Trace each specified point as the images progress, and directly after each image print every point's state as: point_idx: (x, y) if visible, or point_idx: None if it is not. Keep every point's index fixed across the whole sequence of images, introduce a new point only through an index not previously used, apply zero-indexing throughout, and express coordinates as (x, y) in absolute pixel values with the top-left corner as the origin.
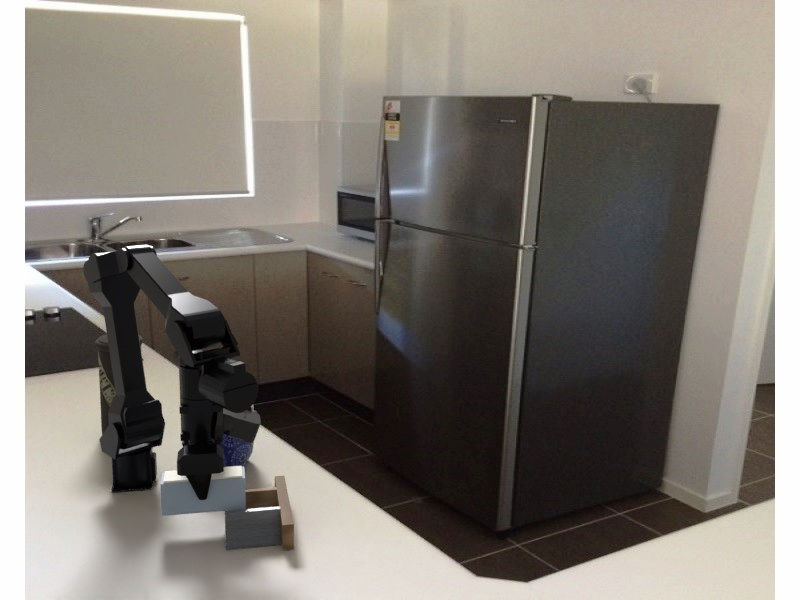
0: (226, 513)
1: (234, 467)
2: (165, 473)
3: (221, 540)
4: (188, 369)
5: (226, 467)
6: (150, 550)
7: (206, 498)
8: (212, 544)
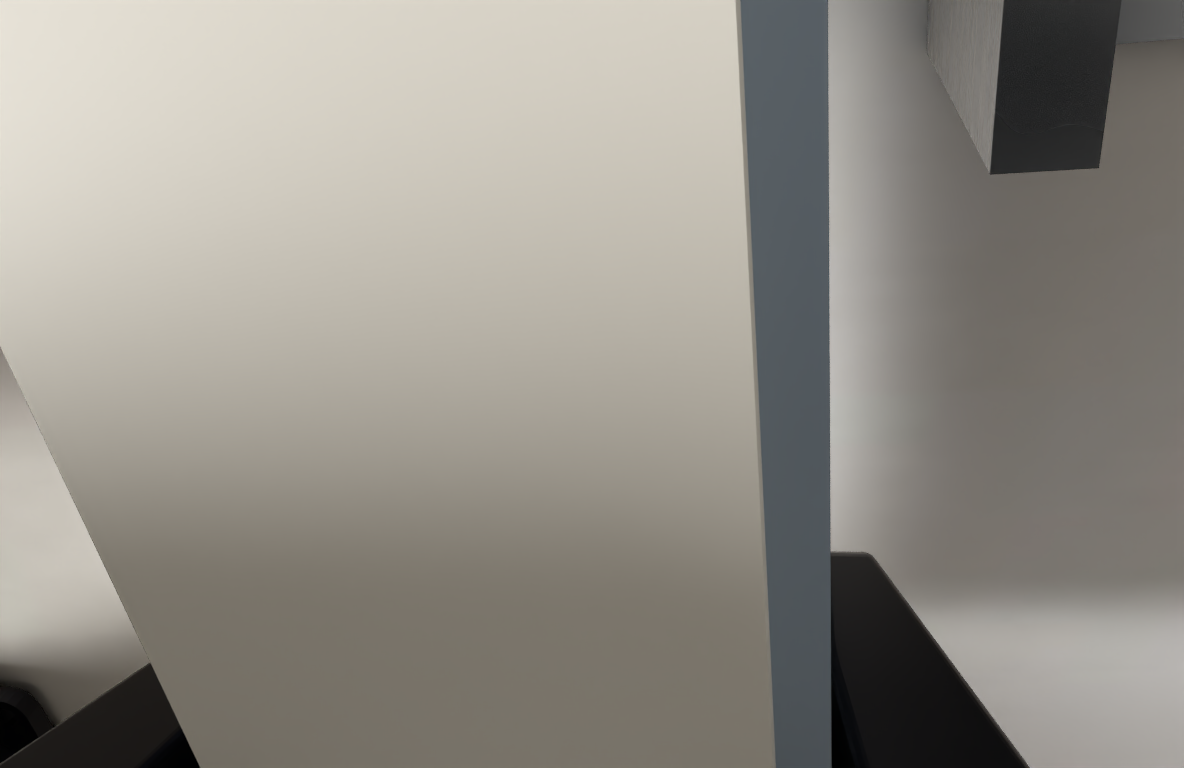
0: (1099, 138)
1: (38, 236)
2: None
3: (949, 99)
4: None
5: (91, 462)
6: (973, 682)
7: (877, 565)
8: (1017, 195)
